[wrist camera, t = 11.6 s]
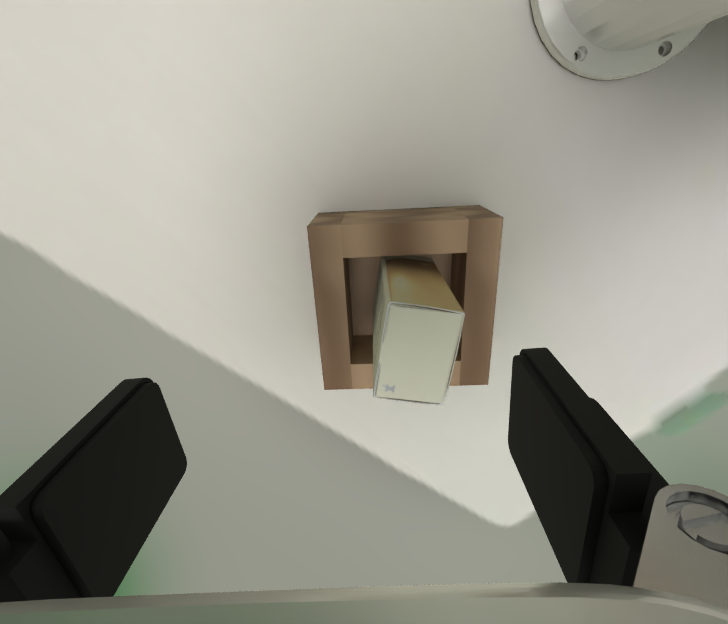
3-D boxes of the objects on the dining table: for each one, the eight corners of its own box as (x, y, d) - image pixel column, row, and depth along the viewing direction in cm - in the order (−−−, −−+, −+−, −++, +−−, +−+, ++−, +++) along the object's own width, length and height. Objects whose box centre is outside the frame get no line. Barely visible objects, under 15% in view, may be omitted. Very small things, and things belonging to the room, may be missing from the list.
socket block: (479, 205, 31) (503, 217, 25) (470, 348, 36) (487, 384, 30) (318, 212, 31) (307, 226, 26) (331, 353, 36) (324, 389, 31)
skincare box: (419, 324, 34) (444, 412, 23) (371, 318, 34) (370, 403, 22) (434, 253, 31) (469, 312, 20) (381, 246, 31) (387, 302, 20)
